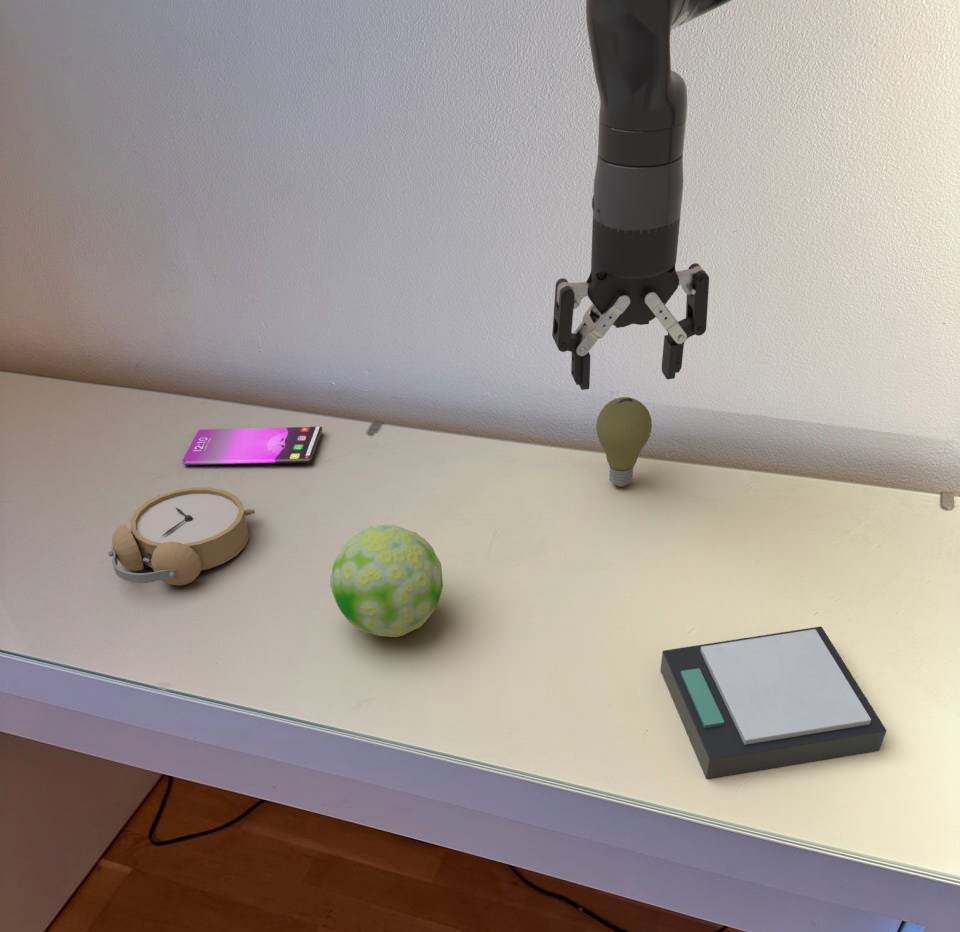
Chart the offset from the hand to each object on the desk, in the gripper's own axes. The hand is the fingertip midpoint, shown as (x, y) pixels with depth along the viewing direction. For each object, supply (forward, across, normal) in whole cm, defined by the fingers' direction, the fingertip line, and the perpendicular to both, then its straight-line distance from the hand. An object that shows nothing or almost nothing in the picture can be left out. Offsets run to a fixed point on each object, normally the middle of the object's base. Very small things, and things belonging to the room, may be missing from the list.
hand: (625, 380), depth 94 cm
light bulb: (+12, 0, 0) cm, 12 cm away
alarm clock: (+13, -46, -1) cm, 48 cm away
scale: (+12, +3, -33) cm, 36 cm away
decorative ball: (+13, -26, -16) cm, 33 cm away
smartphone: (+12, -39, +17) cm, 44 cm away
